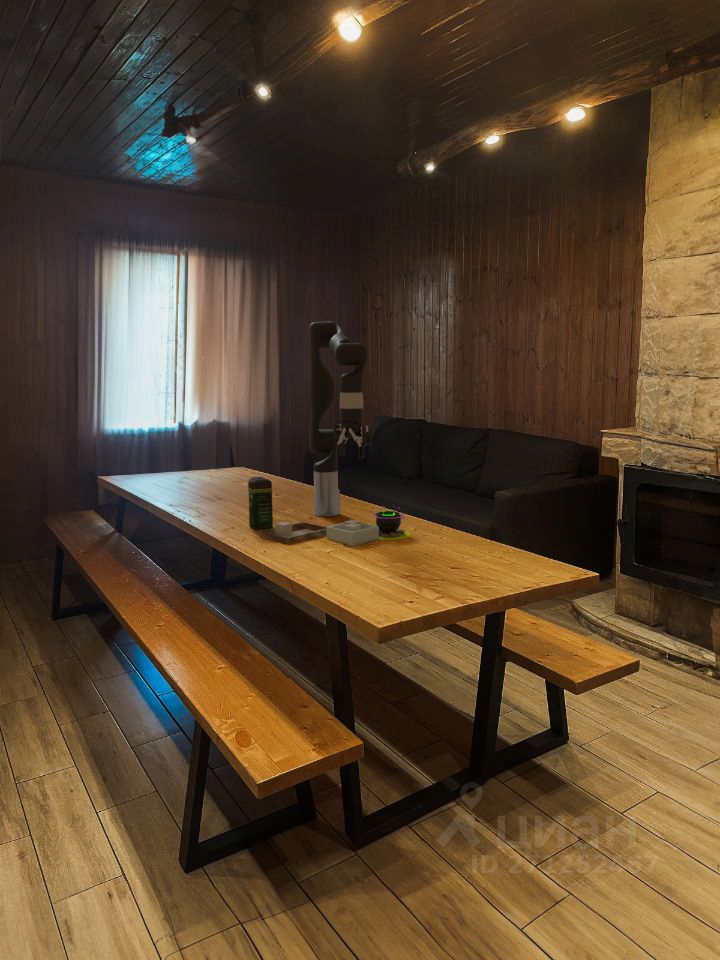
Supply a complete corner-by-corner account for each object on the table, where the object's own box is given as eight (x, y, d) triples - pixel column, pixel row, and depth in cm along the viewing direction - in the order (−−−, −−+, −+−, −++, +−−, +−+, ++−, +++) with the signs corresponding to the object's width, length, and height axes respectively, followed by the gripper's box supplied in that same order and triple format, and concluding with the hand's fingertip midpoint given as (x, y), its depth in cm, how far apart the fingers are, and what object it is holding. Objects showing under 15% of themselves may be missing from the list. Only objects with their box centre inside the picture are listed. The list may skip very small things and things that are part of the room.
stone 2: (352, 534, 240) (352, 519, 240) (361, 536, 238) (360, 521, 237) (344, 536, 238) (344, 521, 237) (352, 538, 235) (352, 523, 234)
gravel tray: (303, 528, 251) (303, 521, 251) (331, 535, 241) (331, 527, 241) (260, 538, 238) (260, 531, 237) (288, 545, 228) (287, 538, 227)
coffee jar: (275, 530, 250) (274, 478, 247) (253, 532, 247) (252, 479, 244) (268, 524, 258) (267, 474, 255) (247, 526, 255) (245, 476, 252)
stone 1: (282, 536, 238) (282, 521, 237) (292, 537, 236) (291, 523, 235) (275, 538, 235) (274, 523, 234) (284, 540, 233) (284, 525, 232)
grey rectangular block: (351, 537, 235) (351, 523, 234) (361, 539, 233) (361, 524, 232) (344, 540, 232) (343, 525, 231) (353, 542, 230) (353, 527, 229)
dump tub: (352, 533, 243) (352, 520, 243) (378, 539, 235) (378, 526, 234) (326, 540, 235) (326, 526, 234) (352, 546, 226) (352, 532, 226)
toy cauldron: (416, 532, 246) (416, 501, 244) (401, 542, 232) (401, 509, 230) (376, 528, 252) (376, 498, 250) (359, 538, 238) (359, 505, 236)
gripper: (375, 407, 223) (376, 458, 225) (344, 405, 233) (344, 454, 235) (359, 408, 218) (359, 460, 220) (327, 406, 227) (328, 456, 230)
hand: (351, 457), depth 228 cm, fingers open, 8 cm apart
